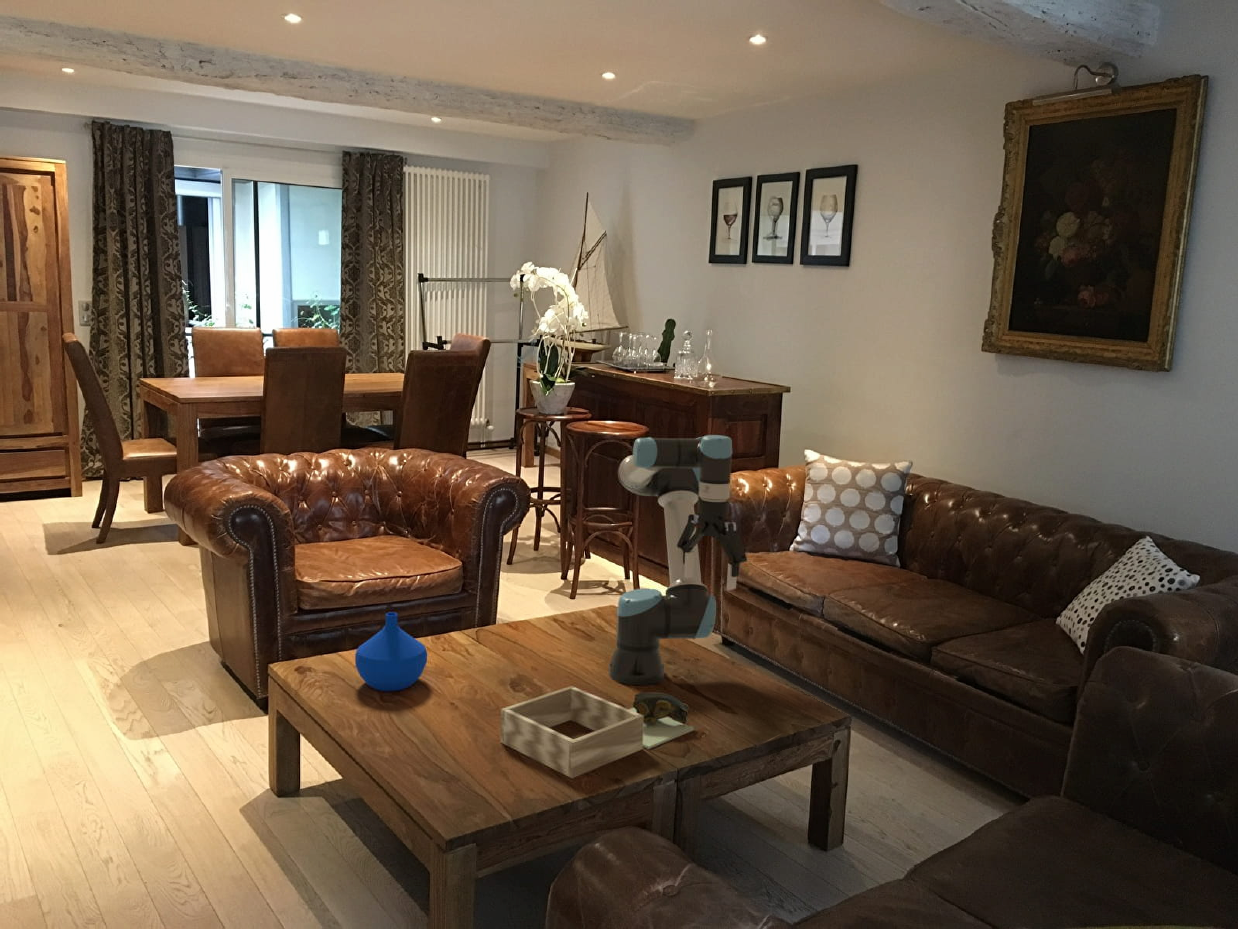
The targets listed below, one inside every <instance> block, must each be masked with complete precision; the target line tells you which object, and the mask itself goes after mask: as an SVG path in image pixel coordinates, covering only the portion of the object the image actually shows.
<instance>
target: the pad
mask: <svg viewBox="0 0 1238 929" xmlns="http://www.w3.org/2000/svg"><path fill="white" fill-rule="evenodd" d="M629 710H631V711H633V712H636V711H637V710H636V709H635V708H634V707H631V708H629ZM694 728H695V727H694V726H690V725H688V724H687V723H686V724H682V723H680V722H677V721H675V720H673V719H671V718H670V717H665V718H662V719H658V721H657V723H656V724H650V723H649V722H645V723H643V747H642V748H645V749H648V750H650V749H652V748H654V747H657V746H659V745H662V744H664V743H667V742H669V741H671V740H673V739H676V738H678V737H681V736H682V735H685V734H688V733H690V732H692V731H695V730H694Z"/></svg>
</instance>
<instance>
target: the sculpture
mask: <svg viewBox="0 0 1238 929" xmlns="http://www.w3.org/2000/svg"><path fill="white" fill-rule="evenodd" d="M632 708H635V709H636V710H637V711H636V713H638V714H641V715H643V716H644V723H645V722H649V723H650V724H656V723H657V721H658V719H662V718H665V717H669V718H671V719H673V720H675V721H677V722H680V723H682V724H686V725H687V722H688V718H687V717H688V716H689V712H688V711H689V705H688V704H687V703H684V702H682V701H681V700H679V699H678V698H677V697H675V696H673V695H671V694H668V693H664V692H656V691H647V692H640V693H637V694H635V695H634V701H633V703H632Z"/></svg>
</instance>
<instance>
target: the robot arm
mask: <svg viewBox="0 0 1238 929" xmlns="http://www.w3.org/2000/svg"><path fill="white" fill-rule="evenodd" d="M633 443H634V444H633V448H632V455H628V456H626V457H625V458H624V459H623V460H622V461H621V462H620V464H619V466H618V469H617V477H618V480H619V482H620V484H621V485H622V487H624V488H625V489H626V490H627V491H629V492H631V493H632V494H636V495H639V496H645V497H647V496H648V497H657V503H658V504H659V506H661V507H662V508H663V512H664V522H665V526H664V527H665V538H666V547H667V551H666V552H667V561H668V570H669V571H668V573H669V583H670V584H669V586H668V587H667V588H666V589H665V595H662V592H661V591H660V590H658V589H655V588H636V589H632V590H629V591H626V592H624V593H623V594H621V595H620V596H619V599H618V602H617V608H616V609H617V610H616V615H617V616H616V617H617V619H616V620H617V621H616V622H617V623H616V624H617V625H616V643H615V644H616V647H615V649H614V652H613V655H612V659H611V662H610V663H609V666H608V676H609V677H610V679H612V680H614V681H615V682H617V683H622V684H625V685H632V686H647V685H653V684H657V683H660V682H661V681H663V680H664V678H665V665H664V664H663V661H662V655H661V651H660V641H661V640H669V639H670V640H673V639H674V640H675V639H676V640H677V639H678V640H679V639H681V640H683V639H684V640H685V639H686V640H688V639H689V640H691V639H692V640H695V639H705V638H706V639H707V638H708V637H709V636H711V635H712V632H713V630H714V626H715V622H716V618H717V617H716V615H717V601H716V597H715V596H714V595H712V594H709V591H708V587H707V586H706V585H705V584H704V583H703V582H702V578H701V577H702V575H701V567H700V557H699V546H698V543H699V542H700V541H701V540H702V539H703V537H704V536H705V537H710V538H714V539H715V538H716V540H717V541H719V543H720V545H721V546H722V548H723V551H724V552H725V554H726V556H727V557H728V560H729V563H727V576H726V577H727V578H726V590H727V591H732V590H735V589H737V578H738V577H739V576H740V564H742V563H745V562H747V560H748V558H747V554H746V551H745V548H744V545H743V542H742V539H741V536H740V533H739V524H738V522H737V521H735V522H734V521H733V522H729V521H728V519H727V518H728V515H729V514H730V513H729V511H730V502H729V500H728V499H729V498H730V496H731V495H730V494H731V493H730V492H731V475H732V474H731V471H732V470H731V469H732V459H733V458H732V456H733V440H732V438H731V437H729V436H725V435H721V434H720V435H719V434H708V435H704V436H699V437H697V438H663V437H662V438H661V437H659V438H658V437H651V436H650V437H639V438H637V439H635V441H634V442H633ZM696 503H697V512H695V504H696ZM697 524H698V525H699V526H698V528H697Z"/></svg>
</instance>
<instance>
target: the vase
mask: <svg viewBox="0 0 1238 929" xmlns="http://www.w3.org/2000/svg"><path fill="white" fill-rule="evenodd" d="M425 646H426V645H425V644H423V643H422V642H421V641H419V640H418V639H416V638H415V637H413V636H411V635H410V634H408V633H407V632H406V631H404V630H403V629H402V628H400V626H399V625H398V613H397V612H394V611H393V612H387V613H385V625H384V627H382V629H381V630H379V631H378V632H377V633H376V634H374V635H373V636H372V637H371V638H369V639H368V640H366V641H365V642H364V643H362V644H361V645H359V646H358V648H357V649H356V651H355V655H354V657H355V658H354V659H355V667H356V670H357V672H358V674H359V676H360V677H361V679H362V680H363V681H364V682H365V683H366V684H367V685H368V686H369V687H370V688H372V689H374V690H376V691H380V692H398V691H403V690H405V688H406V689H408V688H409V687H411V686H412V685H414V683H416V682H417V681H418V679H419V678H420V677H421V676H422V674H423V672H424V669H425V668H426V666H427V662H428V651H427V649H426V647H425Z"/></svg>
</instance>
